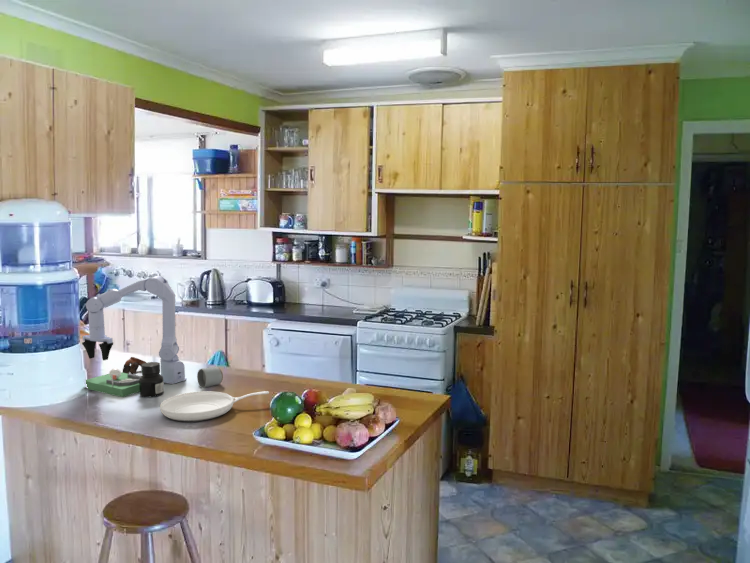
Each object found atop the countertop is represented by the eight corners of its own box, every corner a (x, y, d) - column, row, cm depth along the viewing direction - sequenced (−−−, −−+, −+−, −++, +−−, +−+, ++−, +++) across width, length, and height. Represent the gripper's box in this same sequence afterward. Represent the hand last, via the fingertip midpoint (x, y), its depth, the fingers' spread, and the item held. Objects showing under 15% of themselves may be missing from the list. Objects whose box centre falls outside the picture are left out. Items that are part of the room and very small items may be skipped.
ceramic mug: (224, 385, 250) (223, 366, 249) (206, 389, 244) (205, 370, 243) (211, 380, 257) (210, 362, 256) (193, 384, 252) (192, 366, 251)
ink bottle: (163, 397, 234) (162, 366, 233) (138, 399, 232) (137, 368, 231) (164, 389, 244) (163, 360, 242) (140, 391, 241) (139, 361, 240)
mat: (156, 386, 248) (155, 376, 248) (122, 397, 235) (121, 386, 234) (117, 378, 260) (116, 368, 260) (83, 387, 247) (82, 377, 246)
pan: (159, 406, 225) (158, 393, 224) (263, 394, 238) (262, 382, 237) (161, 428, 201) (160, 414, 201) (276, 415, 215) (275, 401, 214)
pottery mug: (119, 373, 270) (128, 355, 273) (140, 381, 273) (148, 363, 276) (120, 373, 259) (129, 354, 262) (142, 380, 263) (150, 362, 265)
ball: (123, 378, 249) (123, 368, 249) (114, 381, 245) (113, 370, 245) (116, 377, 251) (115, 366, 251) (107, 379, 248) (106, 369, 247)
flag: (118, 395, 237) (116, 374, 236) (116, 395, 237) (115, 375, 236) (113, 394, 238) (112, 373, 237) (112, 394, 238) (111, 374, 237)
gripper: (117, 326, 252) (119, 358, 253) (91, 323, 257) (93, 355, 259) (104, 329, 245) (105, 362, 247) (77, 326, 251) (79, 358, 252)
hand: (98, 358), depth 252 cm, fingers open, 7 cm apart
